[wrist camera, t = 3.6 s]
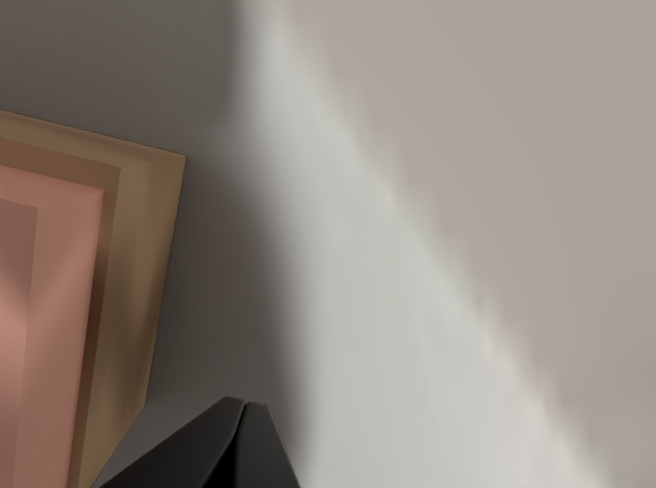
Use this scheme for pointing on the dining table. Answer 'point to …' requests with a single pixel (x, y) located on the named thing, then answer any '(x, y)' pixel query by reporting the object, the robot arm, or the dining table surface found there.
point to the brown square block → (109, 269)
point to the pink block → (43, 320)
